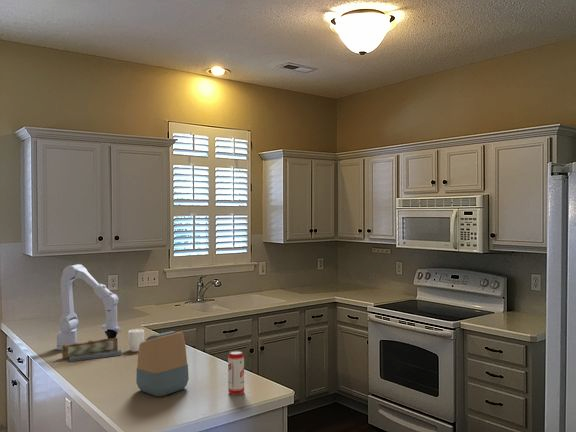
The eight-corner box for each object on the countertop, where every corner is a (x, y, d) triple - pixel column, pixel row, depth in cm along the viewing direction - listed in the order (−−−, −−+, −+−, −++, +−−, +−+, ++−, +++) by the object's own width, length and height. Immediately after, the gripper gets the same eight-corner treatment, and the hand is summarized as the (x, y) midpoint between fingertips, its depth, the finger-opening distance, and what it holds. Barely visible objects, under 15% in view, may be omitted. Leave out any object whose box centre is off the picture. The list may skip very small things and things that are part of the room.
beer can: (244, 389, 209) (244, 350, 209) (243, 395, 203) (243, 354, 203) (229, 390, 209) (228, 350, 209) (227, 395, 203) (227, 354, 203)
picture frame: (63, 358, 254) (63, 345, 254) (62, 357, 257) (62, 344, 256) (117, 350, 269) (117, 337, 268) (116, 349, 271) (116, 336, 271)
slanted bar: (69, 361, 251) (69, 357, 251) (69, 359, 253) (69, 355, 253) (121, 355, 261) (121, 351, 261) (121, 353, 263) (120, 349, 263)
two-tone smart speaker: (166, 380, 222) (166, 325, 222) (192, 388, 212) (191, 331, 211) (132, 391, 209) (131, 333, 209) (158, 400, 199) (157, 339, 198)
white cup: (147, 348, 273) (147, 329, 273) (139, 352, 265) (138, 332, 265) (134, 347, 275) (133, 328, 275) (125, 351, 267) (125, 332, 267)
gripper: (96, 317, 272) (97, 343, 272) (112, 321, 263) (113, 348, 263) (108, 315, 277) (109, 340, 278) (124, 318, 268) (125, 345, 269)
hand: (111, 344), depth 271 cm, fingers closed
